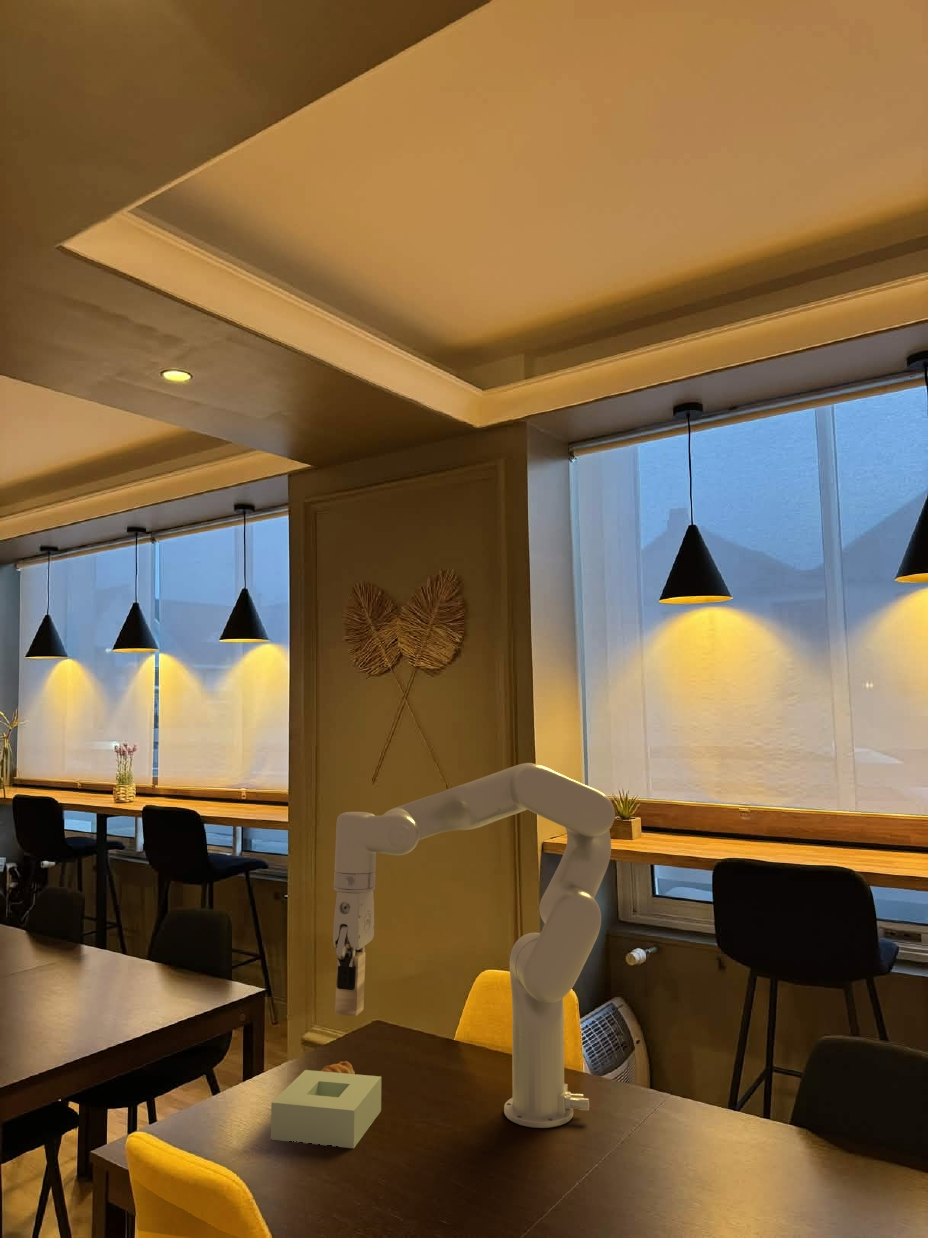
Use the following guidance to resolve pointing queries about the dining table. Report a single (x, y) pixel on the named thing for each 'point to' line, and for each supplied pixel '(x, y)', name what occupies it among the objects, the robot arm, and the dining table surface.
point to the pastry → (339, 1068)
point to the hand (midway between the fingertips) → (350, 984)
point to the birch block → (352, 999)
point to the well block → (326, 1108)
